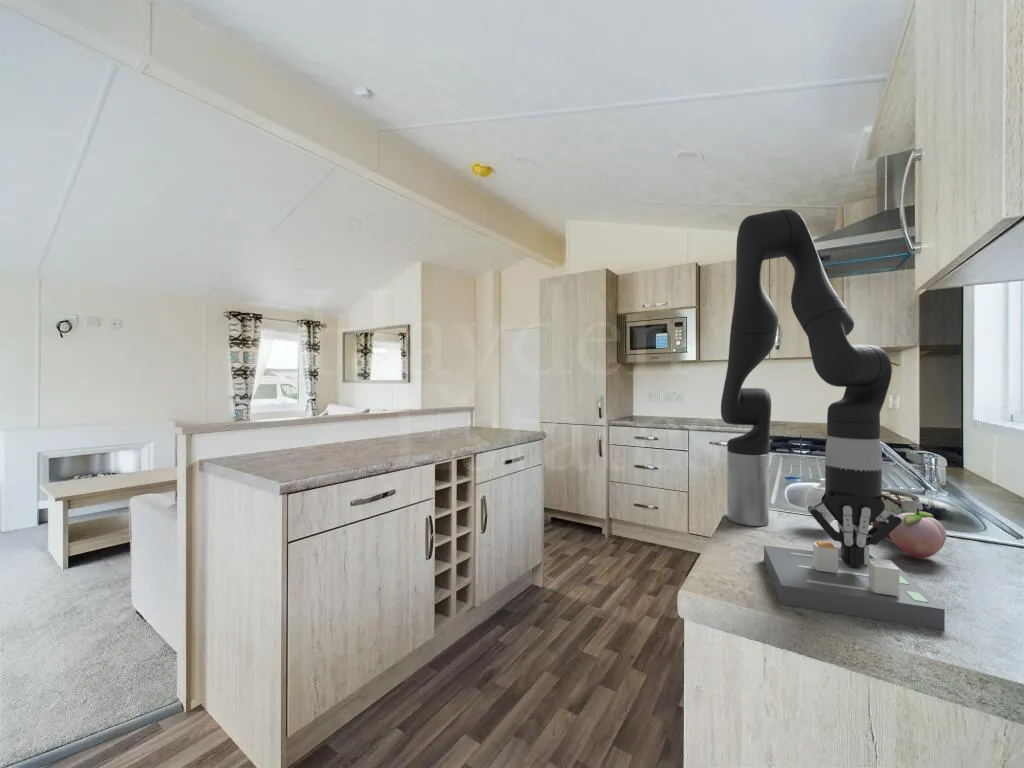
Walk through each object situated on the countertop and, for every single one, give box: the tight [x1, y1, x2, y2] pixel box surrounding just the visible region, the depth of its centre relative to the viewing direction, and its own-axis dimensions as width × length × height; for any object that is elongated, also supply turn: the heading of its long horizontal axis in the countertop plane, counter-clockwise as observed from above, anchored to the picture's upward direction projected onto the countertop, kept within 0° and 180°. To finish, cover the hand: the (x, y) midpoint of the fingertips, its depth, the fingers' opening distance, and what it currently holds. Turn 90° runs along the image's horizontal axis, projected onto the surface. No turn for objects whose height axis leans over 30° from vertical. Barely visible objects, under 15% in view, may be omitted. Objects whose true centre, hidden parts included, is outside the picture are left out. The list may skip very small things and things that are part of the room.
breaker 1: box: [864, 545, 870, 565], centre depth 79 cm, size 2×3×4 cm
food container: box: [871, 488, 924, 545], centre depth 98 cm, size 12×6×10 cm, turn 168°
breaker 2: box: [869, 561, 900, 596], centre depth 68 cm, size 2×3×4 cm
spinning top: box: [804, 478, 836, 525], centre depth 104 cm, size 8×8×12 cm
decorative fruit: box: [889, 509, 947, 560], centre depth 88 cm, size 9×8×10 cm
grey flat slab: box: [763, 545, 946, 631], centre depth 75 cm, size 18×20×3 cm
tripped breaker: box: [812, 540, 838, 573], centre depth 76 cm, size 2×3×4 cm
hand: (852, 566), depth 74 cm, fingers closed
